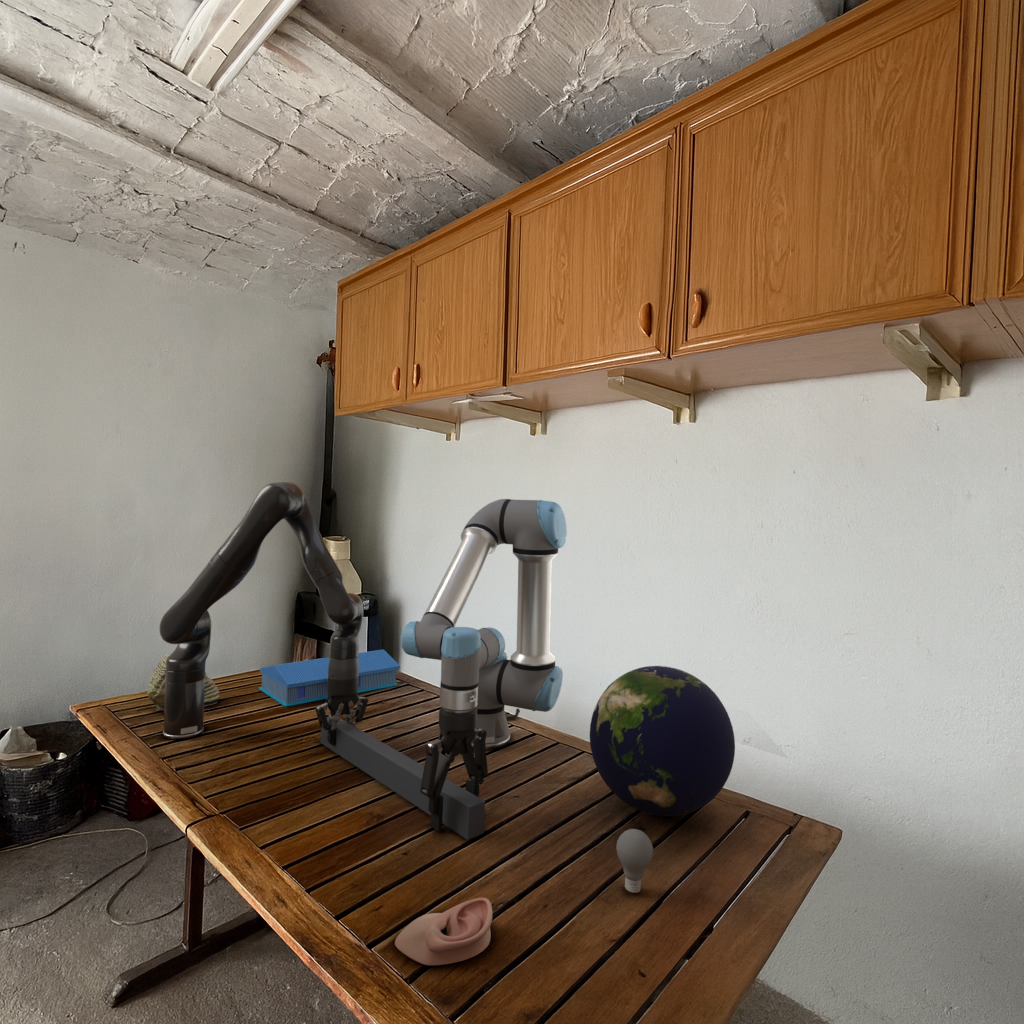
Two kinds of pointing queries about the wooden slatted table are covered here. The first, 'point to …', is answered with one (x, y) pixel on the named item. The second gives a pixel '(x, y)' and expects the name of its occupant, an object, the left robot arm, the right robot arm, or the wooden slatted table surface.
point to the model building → (324, 677)
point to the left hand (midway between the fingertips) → (340, 741)
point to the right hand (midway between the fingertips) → (453, 820)
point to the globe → (662, 740)
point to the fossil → (158, 687)
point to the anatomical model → (448, 934)
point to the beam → (407, 778)
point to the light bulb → (634, 857)
